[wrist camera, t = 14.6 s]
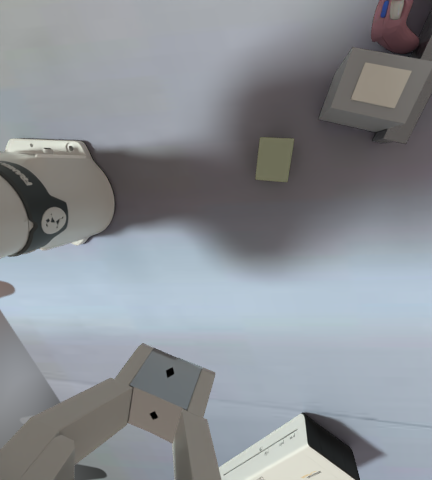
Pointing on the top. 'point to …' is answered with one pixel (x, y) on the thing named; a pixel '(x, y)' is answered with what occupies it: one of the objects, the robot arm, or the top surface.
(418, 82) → the mounted modules
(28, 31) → the top surface
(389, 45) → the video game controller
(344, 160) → the top surface
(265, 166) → the block
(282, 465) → the laminator
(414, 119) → the rail bar
